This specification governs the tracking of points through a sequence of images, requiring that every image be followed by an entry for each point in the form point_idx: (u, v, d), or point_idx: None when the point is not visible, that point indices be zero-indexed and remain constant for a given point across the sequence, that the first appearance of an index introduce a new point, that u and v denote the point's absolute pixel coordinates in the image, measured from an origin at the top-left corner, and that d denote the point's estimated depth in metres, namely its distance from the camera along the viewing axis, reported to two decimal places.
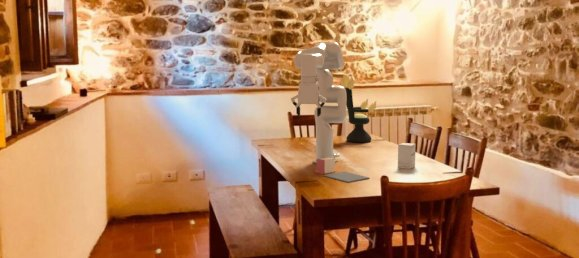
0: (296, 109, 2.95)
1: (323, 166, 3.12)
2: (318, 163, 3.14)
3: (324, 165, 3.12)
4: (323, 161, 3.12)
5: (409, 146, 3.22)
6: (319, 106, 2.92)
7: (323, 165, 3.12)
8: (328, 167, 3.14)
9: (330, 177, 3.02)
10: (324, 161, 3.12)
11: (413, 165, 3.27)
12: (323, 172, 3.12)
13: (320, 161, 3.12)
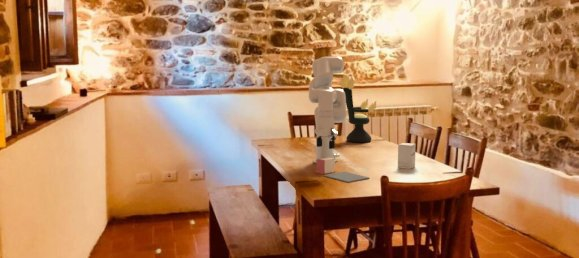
0: (334, 142, 3.09)
1: (323, 166, 3.12)
2: (318, 163, 3.14)
3: (324, 165, 3.12)
4: (323, 161, 3.12)
5: (409, 146, 3.22)
6: None
7: (323, 165, 3.12)
8: (328, 167, 3.14)
9: (330, 177, 3.02)
10: (324, 161, 3.12)
11: (413, 165, 3.27)
12: (323, 172, 3.12)
13: (320, 161, 3.12)
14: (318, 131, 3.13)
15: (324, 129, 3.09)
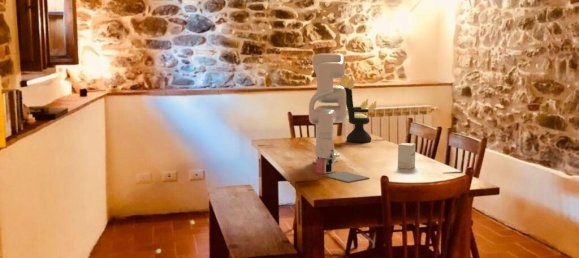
0: None
1: (323, 166, 3.12)
2: (318, 163, 3.14)
3: (324, 165, 3.12)
4: (323, 161, 3.12)
5: (409, 146, 3.22)
6: None
7: (323, 165, 3.12)
8: None
9: (330, 177, 3.02)
10: (324, 161, 3.12)
11: (413, 165, 3.27)
12: (323, 172, 3.12)
13: (320, 161, 3.12)
14: (318, 152, 3.15)
15: (324, 151, 3.11)
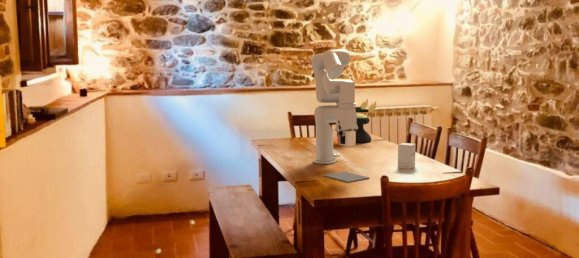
0: (342, 138, 2.98)
1: (338, 136, 3.02)
2: None
3: (339, 136, 3.01)
4: None
5: (409, 146, 3.22)
6: None
7: (338, 135, 3.02)
8: None
9: (330, 177, 3.02)
10: None
11: (413, 165, 3.27)
12: (338, 143, 3.02)
13: None
14: None
15: None
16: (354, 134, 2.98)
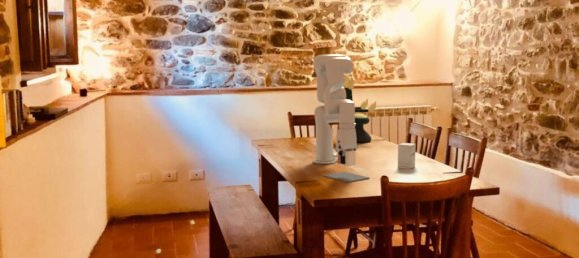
0: (342, 158, 2.99)
1: (338, 156, 3.03)
2: None
3: (339, 155, 3.02)
4: None
5: (409, 146, 3.22)
6: None
7: (338, 155, 3.03)
8: None
9: (330, 177, 3.02)
10: None
11: (413, 165, 3.27)
12: (338, 162, 3.03)
13: None
14: None
15: None
16: (354, 154, 2.99)
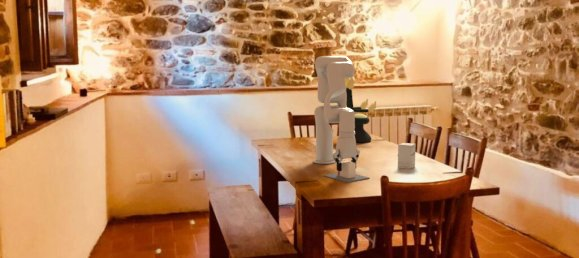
0: (338, 165, 2.98)
1: None
2: None
3: None
4: None
5: (409, 146, 3.22)
6: (356, 159, 3.04)
7: None
8: (343, 171, 3.02)
9: (330, 177, 3.02)
10: None
11: (413, 165, 3.27)
12: (338, 174, 3.05)
13: None
14: None
15: None
16: (354, 166, 3.01)
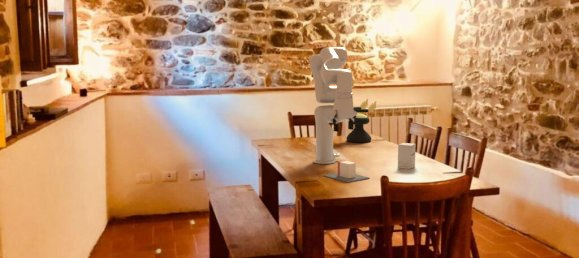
0: (335, 125, 2.99)
1: (339, 168, 3.04)
2: None
3: (339, 167, 3.04)
4: (338, 163, 3.04)
5: (409, 146, 3.22)
6: (353, 120, 3.05)
7: (338, 167, 3.04)
8: (343, 171, 3.02)
9: (330, 177, 3.02)
10: (339, 163, 3.03)
11: (413, 165, 3.27)
12: (338, 174, 3.05)
13: None
14: None
15: None
16: (354, 166, 3.01)
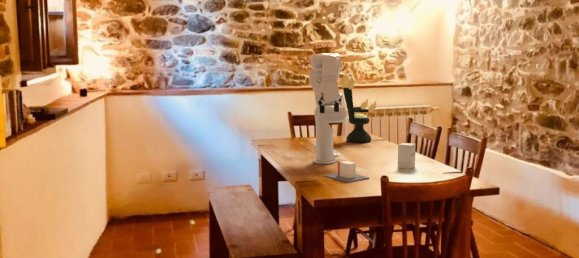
0: (321, 107, 3.13)
1: (339, 168, 3.04)
2: None
3: (339, 167, 3.04)
4: (338, 163, 3.04)
5: (409, 146, 3.22)
6: (339, 102, 3.19)
7: (338, 167, 3.04)
8: (343, 171, 3.02)
9: (330, 177, 3.02)
10: (339, 163, 3.03)
11: (413, 165, 3.27)
12: (338, 174, 3.05)
13: None
14: None
15: None
16: (354, 166, 3.01)
